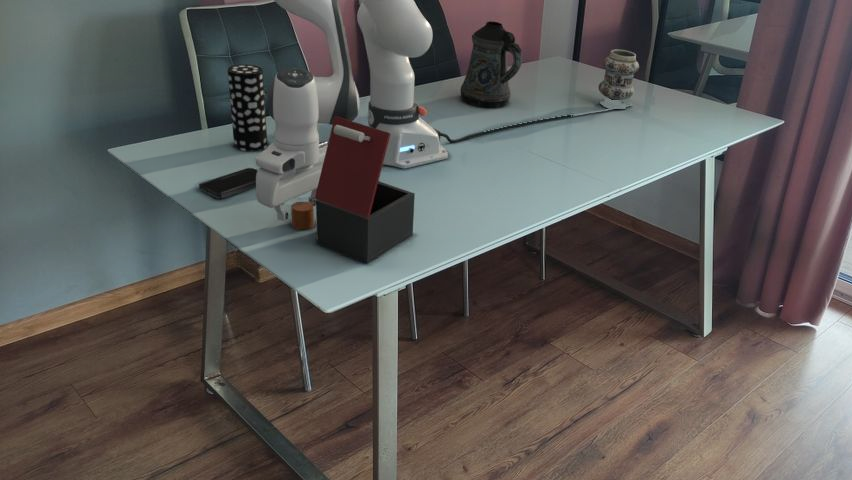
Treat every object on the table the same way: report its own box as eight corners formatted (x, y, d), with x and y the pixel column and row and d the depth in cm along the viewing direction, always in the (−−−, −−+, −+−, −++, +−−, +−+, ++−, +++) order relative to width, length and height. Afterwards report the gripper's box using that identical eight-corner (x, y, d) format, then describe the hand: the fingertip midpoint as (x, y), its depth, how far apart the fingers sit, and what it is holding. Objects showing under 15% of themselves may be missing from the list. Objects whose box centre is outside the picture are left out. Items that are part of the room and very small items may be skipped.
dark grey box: (364, 217, 170) (365, 176, 164) (412, 235, 165) (414, 193, 160) (317, 244, 157) (315, 200, 152) (367, 264, 152) (368, 219, 147)
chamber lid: (337, 116, 149) (321, 112, 145) (391, 133, 144) (377, 129, 140) (316, 198, 152) (301, 197, 148) (369, 217, 147) (354, 217, 143)
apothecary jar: (633, 113, 254) (643, 59, 244) (597, 109, 253) (606, 55, 244) (628, 101, 264) (638, 49, 255) (594, 98, 264) (603, 46, 254)
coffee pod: (309, 218, 167) (309, 200, 164) (316, 227, 163) (316, 209, 161) (289, 221, 164) (288, 203, 162) (295, 231, 161) (295, 212, 159)
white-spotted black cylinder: (258, 153, 194) (252, 76, 184) (228, 148, 195) (221, 70, 185) (273, 142, 201) (268, 67, 191) (243, 137, 202) (237, 62, 192)
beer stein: (464, 89, 257) (470, 13, 244) (521, 98, 256) (530, 21, 243) (455, 104, 243) (461, 24, 230) (515, 113, 241) (524, 33, 229)
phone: (272, 177, 180) (218, 195, 169) (272, 181, 180) (218, 199, 170) (250, 166, 183) (196, 184, 173) (250, 171, 184) (196, 188, 173)
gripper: (319, 134, 164) (320, 192, 171) (248, 160, 148) (252, 223, 156) (342, 142, 162) (342, 201, 169) (273, 169, 146) (275, 232, 153)
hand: (298, 211), depth 162 cm, fingers open, 8 cm apart
